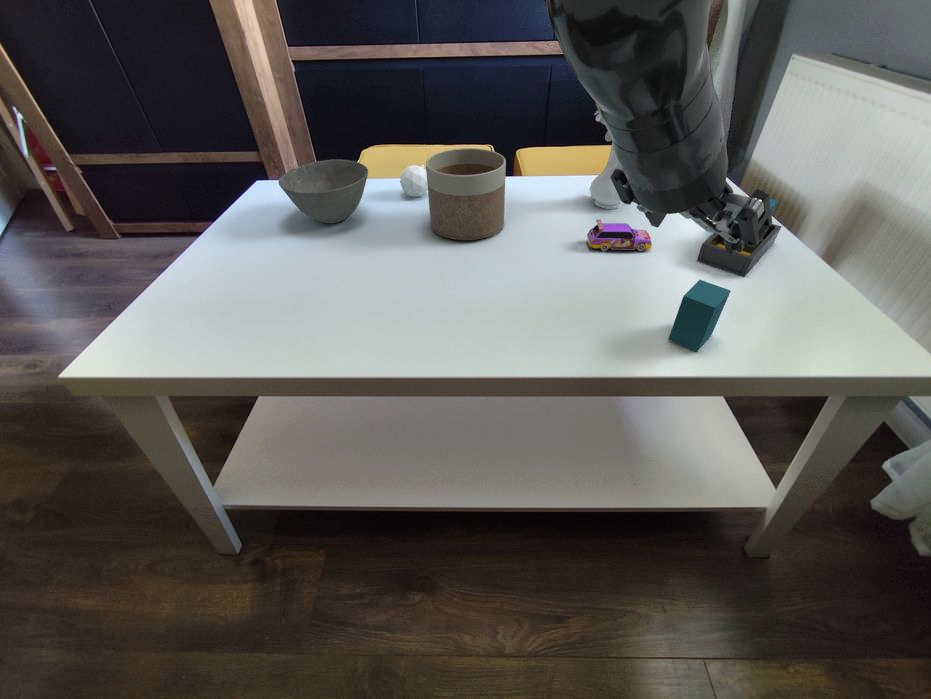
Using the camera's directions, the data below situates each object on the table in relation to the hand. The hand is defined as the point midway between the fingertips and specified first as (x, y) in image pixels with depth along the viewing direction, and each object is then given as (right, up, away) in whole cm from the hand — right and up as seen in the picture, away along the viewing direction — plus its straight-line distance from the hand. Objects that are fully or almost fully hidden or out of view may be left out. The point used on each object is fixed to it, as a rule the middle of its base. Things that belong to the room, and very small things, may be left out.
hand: (695, 231), depth 49 cm
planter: (-24, +14, +50) cm, 57 cm away
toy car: (+6, +8, +41) cm, 43 cm away
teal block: (+9, -11, +20) cm, 24 cm away
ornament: (-37, +25, +63) cm, 77 cm away
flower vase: (+8, +21, +56) cm, 60 cm away
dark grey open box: (+27, +6, +38) cm, 48 cm away
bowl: (-55, +17, +54) cm, 79 cm away
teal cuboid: (+30, +9, +40) cm, 51 cm away
